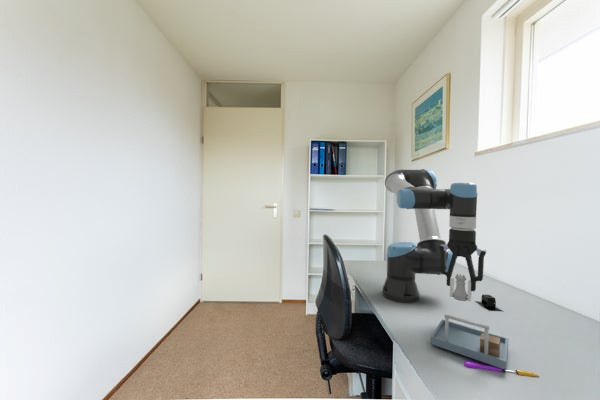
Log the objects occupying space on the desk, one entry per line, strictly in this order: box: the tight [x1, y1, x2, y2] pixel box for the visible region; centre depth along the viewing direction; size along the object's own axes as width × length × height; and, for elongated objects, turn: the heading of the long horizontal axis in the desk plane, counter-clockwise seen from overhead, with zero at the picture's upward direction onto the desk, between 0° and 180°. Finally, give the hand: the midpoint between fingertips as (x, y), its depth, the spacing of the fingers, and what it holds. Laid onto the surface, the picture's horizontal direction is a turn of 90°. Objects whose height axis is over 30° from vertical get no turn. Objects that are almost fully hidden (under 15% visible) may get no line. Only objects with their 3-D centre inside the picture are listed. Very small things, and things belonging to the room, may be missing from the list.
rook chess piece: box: [452, 273, 468, 302], centre depth 86 cm, size 4×4×8 cm
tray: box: [430, 313, 509, 370], centre depth 73 cm, size 14×17×10 cm
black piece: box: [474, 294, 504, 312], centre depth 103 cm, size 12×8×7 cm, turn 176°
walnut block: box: [480, 333, 500, 358], centre depth 68 cm, size 4×4×4 cm
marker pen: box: [463, 360, 540, 378], centre depth 65 cm, size 3×1×16 cm
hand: (460, 297), depth 86 cm, fingers closed on rook chess piece, 4 cm apart
